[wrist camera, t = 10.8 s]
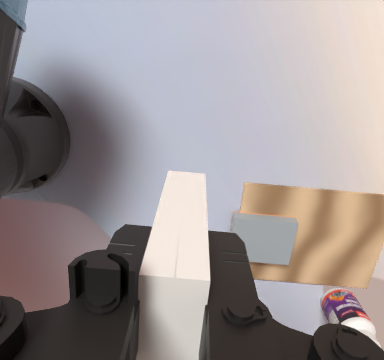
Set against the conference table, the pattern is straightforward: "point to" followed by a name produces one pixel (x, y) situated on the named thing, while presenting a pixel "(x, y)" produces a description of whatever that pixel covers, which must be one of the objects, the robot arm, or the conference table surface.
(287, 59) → the conference table surface
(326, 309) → the pill bottle
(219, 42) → the conference table surface
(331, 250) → the mat
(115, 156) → the conference table surface
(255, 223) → the tile
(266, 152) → the conference table surface
